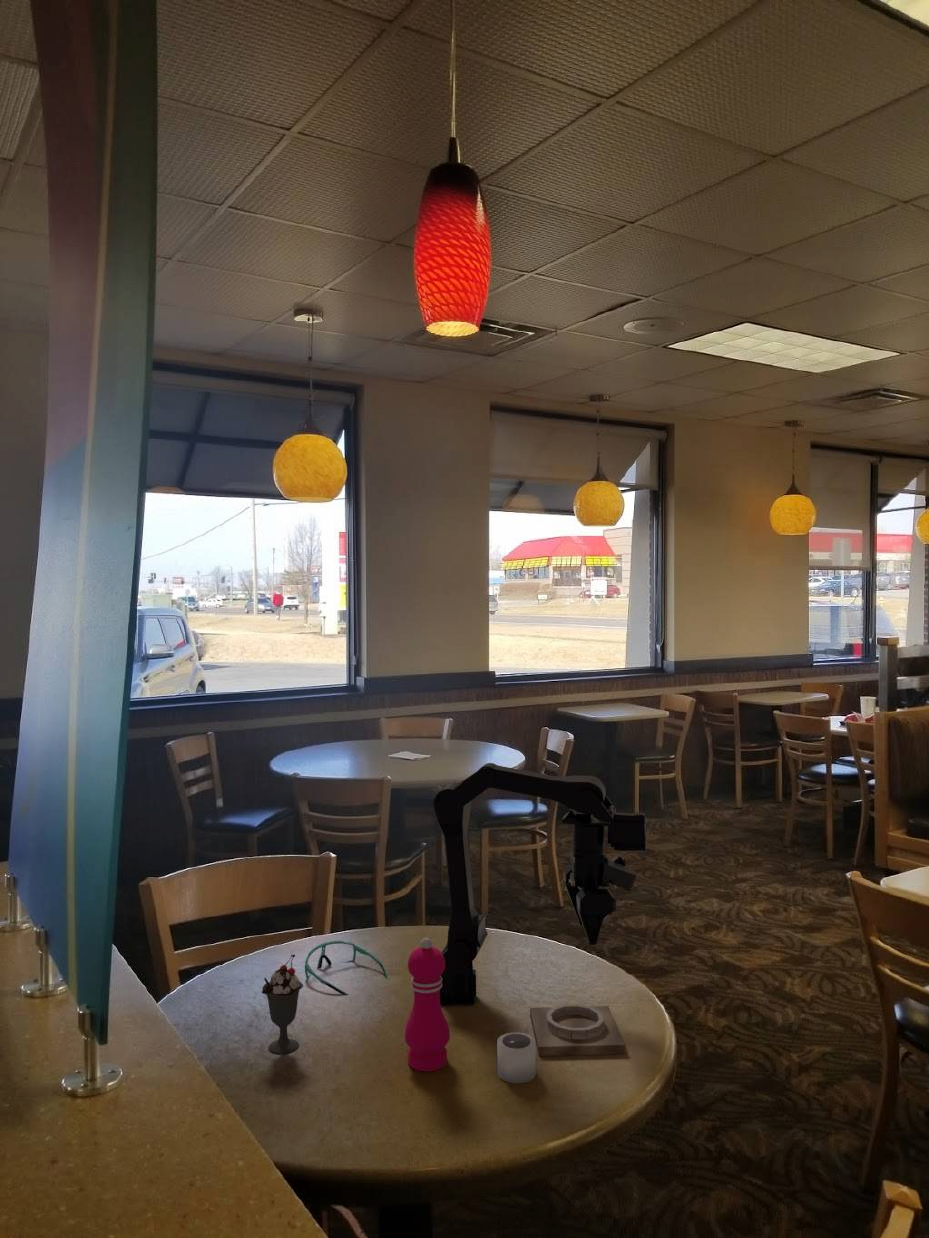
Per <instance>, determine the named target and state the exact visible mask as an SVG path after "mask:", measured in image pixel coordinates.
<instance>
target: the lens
mask: <svg viewBox="0 0 929 1238" xmlns="http://www.w3.org/2000/svg"><path fill="white" fill-rule="evenodd" d="M496 1041H497V1042H496V1043H497V1044H496V1045H497V1046H496V1049H497V1050H496V1052H497V1053H496V1054H497V1057H496V1059H497V1063H496V1064H497V1067H496V1068H497V1076H498V1078H499V1079H500V1080H502V1081H504V1082H506V1083H511V1084H524V1083H528V1082H530V1081H532V1080H533V1079H535V1077H536V1074H537V1068H536V1067H537V1060H536V1059H537V1055H536V1054H537V1053H536V1052H537V1051H536V1050H537V1046H536V1041H535V1037H534V1036H531V1035H529V1033H524V1032H508V1033H504V1034H501V1035H500V1036H499V1037H498V1038H497V1040H496Z"/></svg>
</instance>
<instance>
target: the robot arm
mask: <svg viewBox="0 0 929 1238" xmlns="http://www.w3.org/2000/svg"><path fill="white" fill-rule="evenodd" d="M488 789H496V790H500V791H506V792H511V793H516V794H520V795H526V796H532V797H536V798H542V799H546V800H551V801H554V802H556V803H558V804H560V805H561V806H564V808H565V807H566V808H567V809H569V811H568V812H567V813H566V814H564V815H563V817H562V819H561V823H562V824H565V825H566V824H567V825H572V844H571V845H572V850H569V853H570V854H569V856H570V858H571V864H567V865H565V867H564V868H563V869H562V880H563V882H564V887H565V889H566V891H567V894H568V897H569V899H570V901H571V904H572V908H573V910H574V912H575V916H576V919H577V920H578V924H579V925H580V926H583V929H584V932H585V935H586V938H587V941H588V943H589V945H590V946H594V945H597V942H598V939H599V935H600V932H601V929H602V924H603V922H604V919H605V918H606V917H607V916H608V915H612V914H613V913H614V912H616V910H617V899H616V898H615V897H614V895H613V893H612V892H611V891H610V890H609V889H608V888H610V887H609V886H610V884H611V885H613V886H616V887H619V888H621V889H623V890H625V891H627V892H632V890H633V887H634V886H635V883H636V880H637V876H638V874H637V872H636V871H635V870H634V869H633V868H631V867H630V866H629V865H627V864H626V860H625V858H624V857H622V856H619V855H617V854H615V855H614V856H613V857H612V858H611V859H609V858H608V857H607V856H606V855H605V827H607V844H608V845H610V848H613V850H614V851H617V852H619V851H620V852H632V853H633V852H634V853H635V852H636V853H647V836H648V835H647V834H648V833H647V828H646V812H619V811H618V812H617V809H616V807H615V806H614V804H613V803H612V802H611V800H610V799H609V797H607V794H606V793H607V792H606V790H607V789H606V787H605V784H604V783H603V782H602V781H601V779H600V778H598V777H596V776H595V775H568V776H567V775H565V776H556V775H551V774H549V775H548V774H545V773H539V772H534V771H530V770H523V769H518V768H513V767H508V766H502V765H497V764H496V763H494V762H488V763H485V764H483V765H482V766H481V767H480V768H479V769H478V770H477V771H476V772H474V773H472V774H471V775H469V776H468V777H467V778H465V779H464V780H462V781H461V782H451V783H449V784H446V786H444V787H443V788H442V789H441V790H440V791H438V792H437V794H436V795H435V797H434V798H433V802H432V803H433V805H432V806H433V811H434V814H435V817H436V822H437V824H438V826H439V828H440V831H441V833H442V834H443V838H444V849H445V857H446V865H447V867H446V868H447V878H448V880H447V881H448V889H449V891H448V892H449V900H450V908H451V914H450V919H449V924H448V929H447V930H448V931H447V941H446V945H445V946H444V947H443V949H442V950H441V952H442V954H443V956H444V959H445V969H444V972H443V973H442V974H441V977H442V988H441V989H440V993H439V997H440V1005H441V1006H447V1005H449V1006H452V1005H453V1006H456V1005H463V1006H464V1005H474V1004H475V998H476V997H477V971H476V969H474V965H473V962H474V960H475V959H476V958H477V956H478V954H479V953H480V951H481V949H482V947H483V945H484V943H485V941H486V938H487V937H488V935H489V933H488V930H487V928H486V913H483V914H478V911H477V908H476V907H475V899H474V890H473V882H472V881H473V880H472V870H471V868H472V867H471V859H470V857H471V856H470V848H469V837H468V829H469V824H470V817H471V809H472V807H471V806H472V801H473V800H475V798H478V796H480V795H481V794H482V793H484V792H485V791H487V790H488ZM600 887H601V888H600Z"/></svg>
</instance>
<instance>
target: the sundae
mask: <svg viewBox="0 0 929 1238" xmlns="http://www.w3.org/2000/svg"><path fill="white" fill-rule="evenodd" d="M295 957H296V954H291V955H290V958H289V960H288V961H287V962H286V963H285V964H282V965H281V966H280V968H278V969H277V970H275V971H274V972H273V973H272V974H271V975H270V976H271V977H270V981H268V979H267V978H266V977H264V978H263V980H264V981H265V983H264V985H263V986H262V990H261V993H262V994H263V995H266V998H267V1002H268V1009H269V1015H270V1020H271V1022H272V1023H273V1024H274V1025H275V1026H277V1027H278V1028H279V1036H278V1037H279V1038H278V1039H276V1040H274V1041H272V1042H271V1043H270V1044H269V1045H268V1050H269V1052H271V1053H273V1054H277V1055H285V1054H290V1053H293V1052H294V1051H295V1050H297V1049H298V1048H299V1046H300V1045H299V1044H300V1043H299V1042H298V1041H297V1040H296V1039H294V1038H293V1039H292V1038H289V1035H288V1026H289V1025H291V1024H292V1023H293V1021H294V1020H295V1019H296V1015H297V1011H298V1003H299V1002H298V1001H299V993H300V990H302V989H303V987H304V984H303V983H302V982H301V980H300V978H299V977H298V976H297V975H296V974H295V973H296V969H295V968H293V959H294V958H295ZM289 962H290V967H289V968H288V967H287V965H288V964H289Z"/></svg>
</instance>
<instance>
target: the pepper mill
mask: <svg viewBox="0 0 929 1238" xmlns="http://www.w3.org/2000/svg"><path fill="white" fill-rule="evenodd" d="M407 969H408V972H409V974H410V975H411V976H412V977H411V979H410V982H411V985H410V987H411V989H412V990H413V994H414V995H413V996H414V997H413V1005H412V1009H411V1012H410V1014H409V1017H408V1019H407V1021H406V1025H405V1029H404V1042H405V1043H406V1044H407V1046H408V1048H409V1049H408V1051H407V1063H408V1065H409V1066H410V1067H411V1069H414V1070H416V1071H419V1072H434V1071H437V1070H440V1069H442V1068H443V1067H445V1066H446V1064H447V1062H448V1050H447V1048H446V1046H447V1045H448V1043H449V1041H450V1036H451V1034H450V1033H451V1032H450V1027H449V1022H448V1020H447V1018H446V1015H445V1014H444V1012H443V1009H442V1005H440V997H439V993H440V989H441V988H442V977H441V974H442V973H443V972H444V969H445V959H444V956H443V954H442V950H440V949H438V948H437V947H435V946H433V942H432V940H431V938H428V937H424V938H423V939H421V942H420V946H419V947H417V948H415V949H413V951H412V952H411V953H410V955H409V957H408V959H407Z"/></svg>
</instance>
